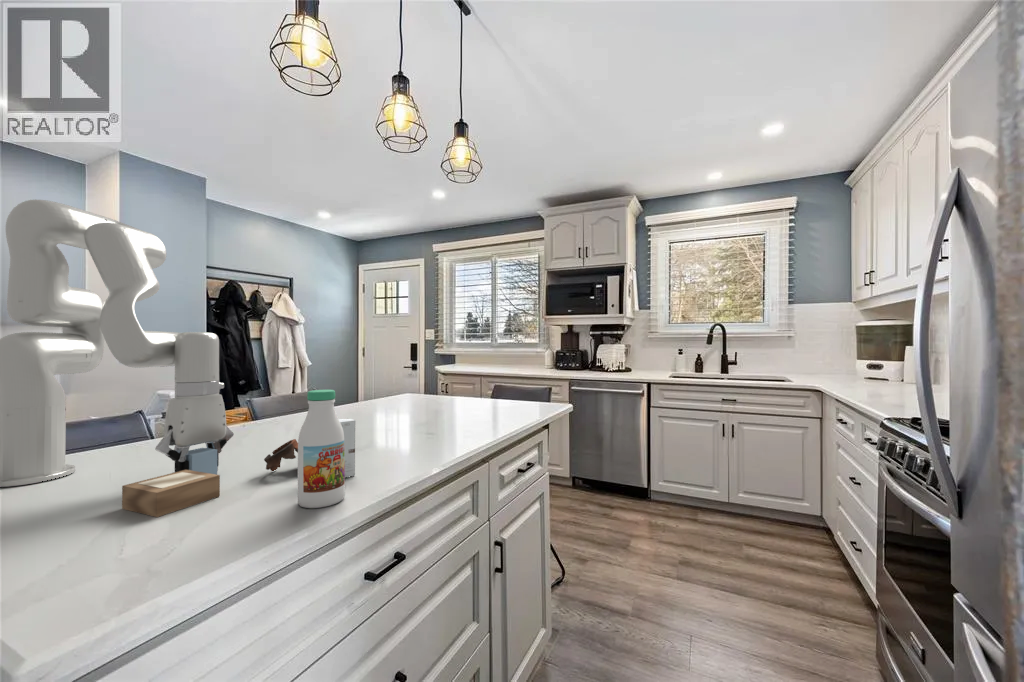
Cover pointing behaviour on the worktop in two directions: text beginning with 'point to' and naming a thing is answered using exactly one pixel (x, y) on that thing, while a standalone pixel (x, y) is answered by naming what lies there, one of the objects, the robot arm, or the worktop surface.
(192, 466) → the slate block
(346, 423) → the skincare box
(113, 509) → the worktop surface
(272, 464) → the brown segmented ring
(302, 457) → the milk bottle
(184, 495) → the walnut plinth
